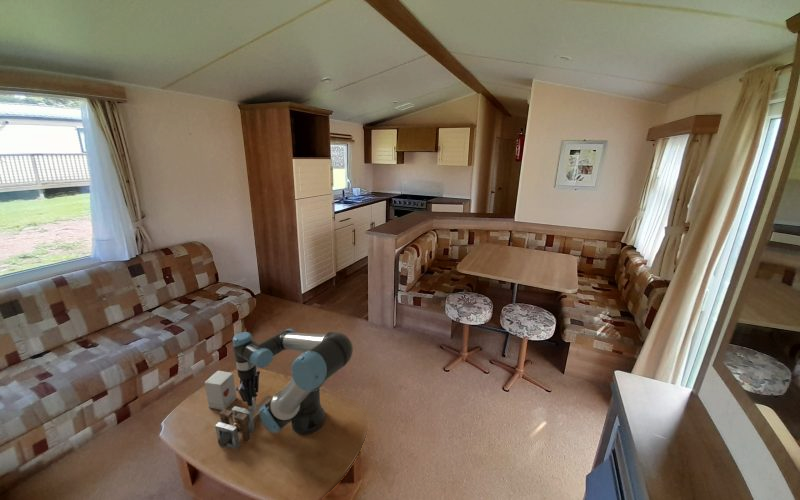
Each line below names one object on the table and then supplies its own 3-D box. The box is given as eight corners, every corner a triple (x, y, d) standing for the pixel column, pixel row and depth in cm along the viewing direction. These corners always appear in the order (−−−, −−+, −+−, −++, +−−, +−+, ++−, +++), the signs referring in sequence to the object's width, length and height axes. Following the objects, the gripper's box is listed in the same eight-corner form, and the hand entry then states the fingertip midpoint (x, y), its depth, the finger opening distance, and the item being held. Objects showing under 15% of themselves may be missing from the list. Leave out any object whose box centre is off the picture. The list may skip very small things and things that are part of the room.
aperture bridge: (250, 438, 138) (247, 415, 134) (247, 442, 136) (243, 419, 132) (227, 431, 141) (223, 408, 137) (223, 435, 139) (219, 413, 135)
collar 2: (254, 429, 142) (251, 410, 139) (251, 432, 141) (248, 413, 137) (237, 424, 145) (234, 406, 142) (234, 428, 143) (231, 409, 140)
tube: (245, 416, 146) (244, 408, 145) (253, 418, 145) (252, 410, 144) (218, 445, 131) (216, 437, 130) (226, 448, 130) (225, 440, 129)
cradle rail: (274, 400, 159) (273, 396, 158) (253, 424, 145) (252, 420, 144) (266, 399, 160) (266, 394, 159) (245, 422, 146) (244, 417, 145)
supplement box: (224, 411, 152) (220, 385, 147) (208, 407, 154) (203, 382, 149) (237, 397, 160) (233, 372, 156) (222, 394, 162) (217, 369, 158)
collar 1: (240, 446, 134) (236, 426, 131) (236, 450, 132) (233, 430, 129) (222, 441, 136) (218, 421, 133) (218, 445, 135) (215, 425, 131)
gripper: (249, 355, 147) (255, 397, 153) (228, 374, 134) (235, 418, 141) (263, 358, 145) (268, 400, 152) (243, 377, 133) (250, 422, 140)
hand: (252, 409), depth 147 cm, fingers closed
